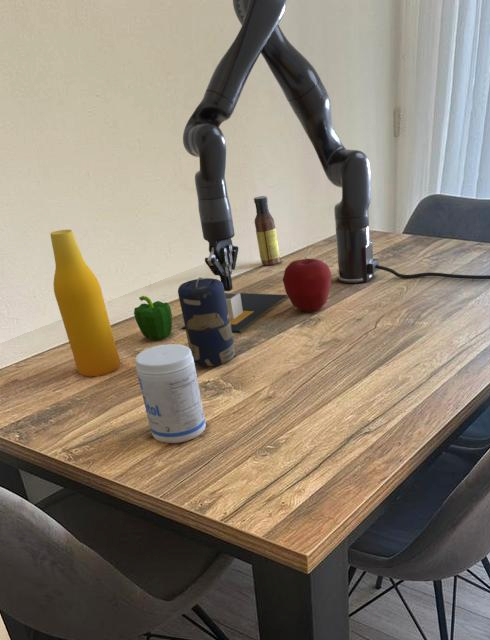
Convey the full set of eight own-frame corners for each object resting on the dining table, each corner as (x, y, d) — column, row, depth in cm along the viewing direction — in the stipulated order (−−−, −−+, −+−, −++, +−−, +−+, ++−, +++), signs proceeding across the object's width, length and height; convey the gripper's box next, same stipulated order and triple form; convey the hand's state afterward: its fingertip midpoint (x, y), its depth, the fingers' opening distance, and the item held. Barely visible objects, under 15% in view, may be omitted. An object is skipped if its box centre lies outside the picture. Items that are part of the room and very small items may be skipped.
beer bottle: (104, 378, 143) (64, 237, 127) (69, 375, 146) (26, 237, 130) (129, 362, 150) (94, 226, 134) (95, 359, 153) (57, 226, 137)
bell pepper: (182, 335, 162) (174, 294, 157) (154, 345, 157) (144, 304, 152) (162, 329, 167) (153, 289, 162) (134, 339, 162) (124, 298, 157)
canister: (243, 353, 148) (230, 271, 139) (224, 370, 141) (209, 285, 131) (205, 351, 151) (189, 271, 142) (184, 368, 144) (166, 284, 134)
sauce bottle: (282, 260, 216) (274, 194, 205) (279, 265, 211) (270, 198, 200) (262, 261, 217) (253, 195, 206) (258, 266, 211) (249, 199, 201)
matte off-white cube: (230, 299, 165) (233, 319, 168) (240, 293, 169) (243, 312, 171) (213, 298, 167) (216, 318, 169) (222, 292, 171) (226, 311, 173)
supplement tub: (141, 436, 118) (121, 358, 110) (183, 415, 124) (167, 339, 116) (176, 450, 113) (157, 369, 105) (218, 428, 119) (203, 349, 111)
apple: (279, 317, 168) (272, 263, 161) (298, 302, 177) (292, 250, 170) (323, 319, 164) (318, 263, 156) (340, 304, 172) (336, 251, 165)
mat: (288, 296, 182) (287, 294, 181) (239, 332, 160) (238, 330, 160) (236, 294, 187) (236, 292, 187) (182, 329, 166) (182, 327, 166)
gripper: (215, 223, 152) (227, 298, 162) (243, 211, 163) (253, 283, 172) (187, 223, 155) (201, 297, 164) (216, 211, 165) (227, 282, 175)
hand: (227, 290), depth 168 cm, fingers closed
